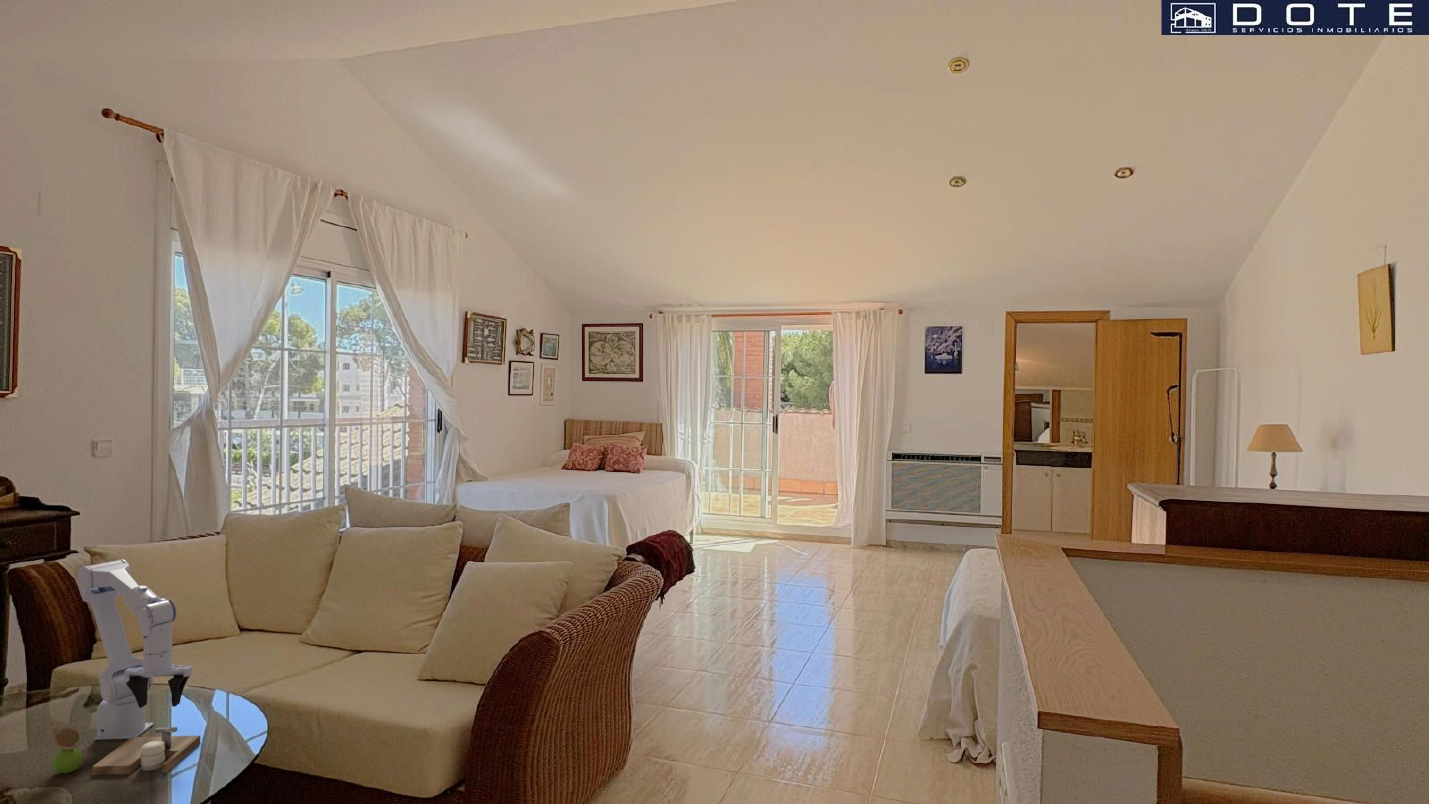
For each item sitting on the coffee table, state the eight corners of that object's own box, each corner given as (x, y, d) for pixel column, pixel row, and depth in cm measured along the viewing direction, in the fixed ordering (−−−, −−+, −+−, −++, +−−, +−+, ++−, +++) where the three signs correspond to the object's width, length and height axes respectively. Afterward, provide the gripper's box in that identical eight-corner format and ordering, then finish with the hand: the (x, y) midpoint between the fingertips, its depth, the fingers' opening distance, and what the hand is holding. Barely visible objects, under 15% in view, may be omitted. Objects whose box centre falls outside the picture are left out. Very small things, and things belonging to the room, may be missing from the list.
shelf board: (92, 775, 181) (92, 766, 181) (131, 745, 195) (131, 737, 195) (166, 772, 183) (166, 764, 182) (200, 743, 196) (200, 735, 196)
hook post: (154, 750, 189) (154, 730, 189) (159, 746, 191) (158, 726, 190) (174, 749, 189) (173, 729, 189) (178, 745, 191) (178, 726, 191)
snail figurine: (59, 766, 185) (58, 715, 184) (88, 765, 185) (87, 715, 184) (42, 778, 179) (40, 726, 178) (72, 777, 180) (70, 726, 179)
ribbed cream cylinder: (136, 771, 183) (136, 750, 183) (148, 761, 188) (148, 740, 187) (158, 770, 183) (157, 749, 183) (169, 760, 188) (168, 740, 188)
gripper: (115, 657, 189) (117, 713, 189) (179, 655, 190) (181, 711, 191) (134, 647, 196) (135, 701, 196) (196, 645, 197) (197, 699, 198)
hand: (159, 705), depth 194 cm, fingers open, 7 cm apart
